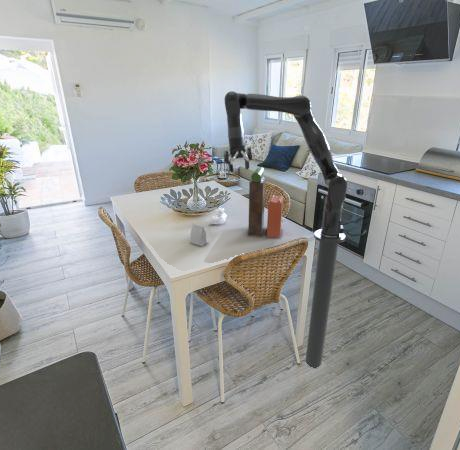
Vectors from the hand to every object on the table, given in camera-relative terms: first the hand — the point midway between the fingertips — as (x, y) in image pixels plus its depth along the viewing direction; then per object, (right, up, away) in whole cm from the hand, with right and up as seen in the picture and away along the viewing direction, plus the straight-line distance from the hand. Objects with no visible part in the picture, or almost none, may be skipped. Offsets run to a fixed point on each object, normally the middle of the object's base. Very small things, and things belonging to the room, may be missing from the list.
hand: (239, 170), depth 155 cm
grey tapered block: (-21, -37, +5) cm, 42 cm away
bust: (-13, -27, +30) cm, 42 cm away
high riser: (+9, -31, +20) cm, 38 cm away
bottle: (+10, -2, +12) cm, 16 cm away
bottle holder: (+19, -32, +18) cm, 41 cm away
